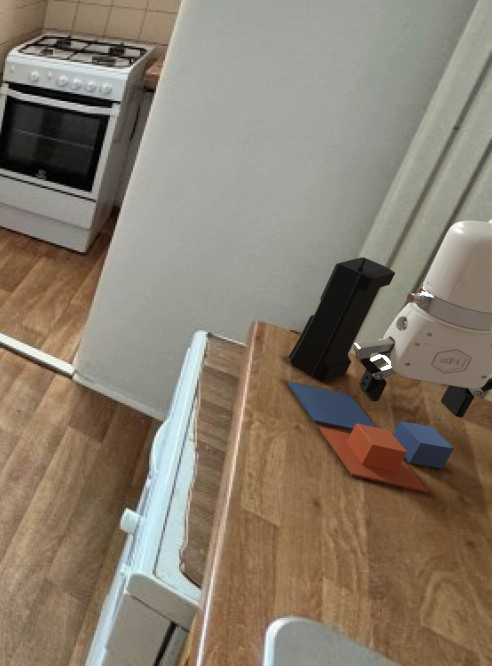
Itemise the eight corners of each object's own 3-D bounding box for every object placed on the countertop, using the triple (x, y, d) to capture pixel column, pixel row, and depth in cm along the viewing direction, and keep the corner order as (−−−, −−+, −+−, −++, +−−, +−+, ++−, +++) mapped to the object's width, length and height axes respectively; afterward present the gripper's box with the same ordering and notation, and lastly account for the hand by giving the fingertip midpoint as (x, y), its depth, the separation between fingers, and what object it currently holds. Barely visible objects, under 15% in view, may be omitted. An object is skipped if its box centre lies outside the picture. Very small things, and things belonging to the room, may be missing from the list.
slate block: (420, 446, 96) (431, 426, 94) (442, 468, 92) (454, 448, 90) (389, 440, 97) (400, 421, 95) (409, 462, 93) (421, 442, 91)
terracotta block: (378, 449, 94) (389, 430, 93) (395, 472, 91) (407, 452, 89) (345, 442, 96) (355, 423, 94) (361, 464, 92) (372, 444, 90)
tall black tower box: (312, 351, 116) (362, 240, 107) (349, 373, 110) (406, 258, 101) (284, 360, 113) (334, 247, 104) (321, 382, 108) (377, 266, 99)
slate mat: (348, 396, 105) (349, 394, 105) (381, 436, 97) (382, 434, 97) (287, 383, 108) (288, 381, 108) (314, 421, 100) (315, 420, 100)
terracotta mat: (387, 443, 96) (388, 442, 96) (427, 493, 88) (428, 491, 88) (319, 429, 99) (320, 427, 98) (351, 475, 91) (352, 473, 90)
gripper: (395, 312, 82) (351, 407, 88) (566, 337, 77) (506, 436, 83) (362, 281, 89) (323, 372, 95) (516, 302, 83) (465, 397, 90)
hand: (408, 402), depth 89 cm, fingers open, 9 cm apart
